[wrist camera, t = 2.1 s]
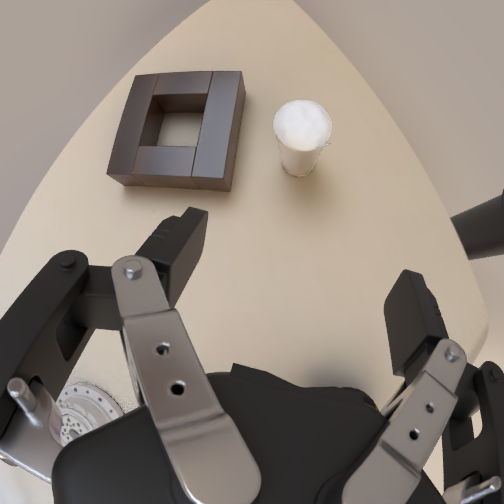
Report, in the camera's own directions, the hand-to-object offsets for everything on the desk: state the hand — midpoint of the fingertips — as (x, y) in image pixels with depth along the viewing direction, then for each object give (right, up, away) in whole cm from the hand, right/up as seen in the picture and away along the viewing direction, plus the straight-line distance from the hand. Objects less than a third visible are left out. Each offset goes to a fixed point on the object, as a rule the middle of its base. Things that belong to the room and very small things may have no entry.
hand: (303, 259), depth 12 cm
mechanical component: (-20, -20, +18) cm, 33 cm away
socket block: (-9, +13, +20) cm, 26 cm away
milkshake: (+3, +9, +19) cm, 21 cm away
